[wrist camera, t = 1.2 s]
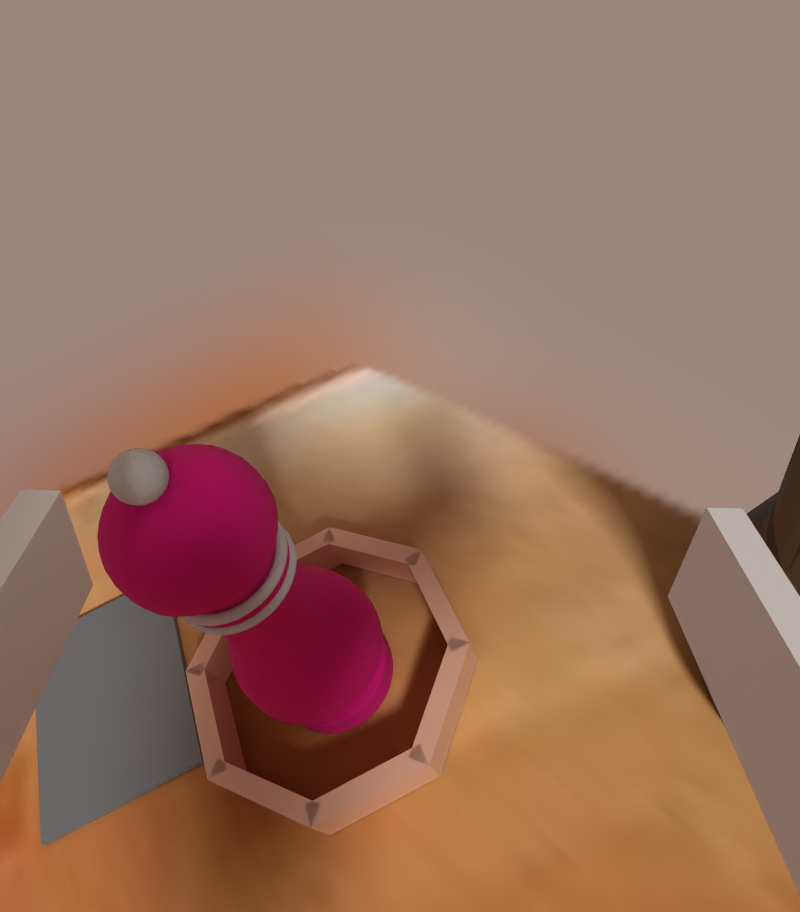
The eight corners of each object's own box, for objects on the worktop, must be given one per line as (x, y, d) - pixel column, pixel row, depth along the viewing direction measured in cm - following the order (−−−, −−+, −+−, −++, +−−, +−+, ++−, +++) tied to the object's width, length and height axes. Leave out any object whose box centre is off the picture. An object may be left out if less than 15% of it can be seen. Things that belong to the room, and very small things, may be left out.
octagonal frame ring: (403, 516, 40) (393, 494, 38) (517, 735, 31) (511, 721, 29) (194, 623, 39) (172, 606, 37) (250, 877, 30) (225, 873, 29)
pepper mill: (406, 736, 32) (220, 547, 17) (269, 753, 34) (-23, 591, 18) (399, 599, 37) (245, 349, 21) (278, 619, 38) (48, 395, 22)
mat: (168, 577, 42) (164, 574, 41) (205, 761, 34) (201, 760, 34) (37, 643, 41) (33, 641, 41) (46, 844, 34) (41, 844, 33)
